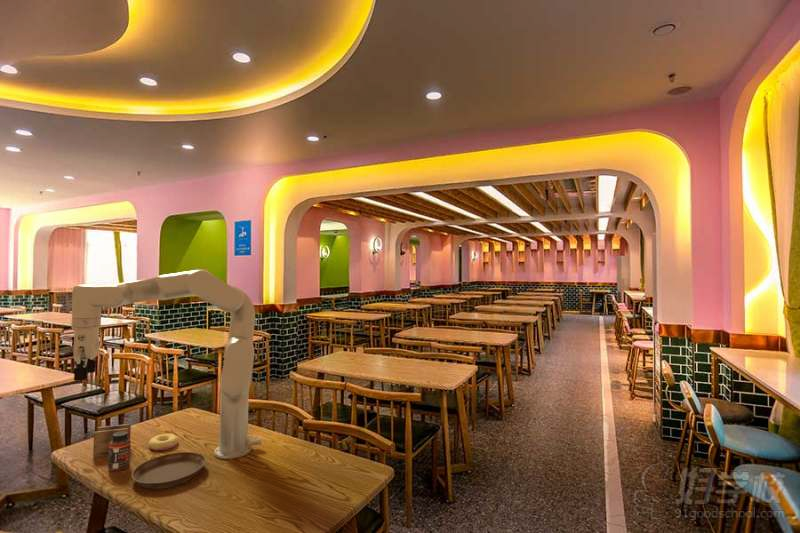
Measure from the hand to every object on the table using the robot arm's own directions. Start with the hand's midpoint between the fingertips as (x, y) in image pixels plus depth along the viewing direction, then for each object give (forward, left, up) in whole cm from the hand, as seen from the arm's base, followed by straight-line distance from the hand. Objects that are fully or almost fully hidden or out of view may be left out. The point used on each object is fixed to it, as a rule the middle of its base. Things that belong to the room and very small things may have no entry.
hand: (85, 376), depth 133 cm
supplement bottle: (-10, 0, -31) cm, 33 cm away
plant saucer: (-26, +11, -32) cm, 42 cm away
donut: (-21, -14, -32) cm, 40 cm away
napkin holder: (-5, -14, -31) cm, 34 cm away
